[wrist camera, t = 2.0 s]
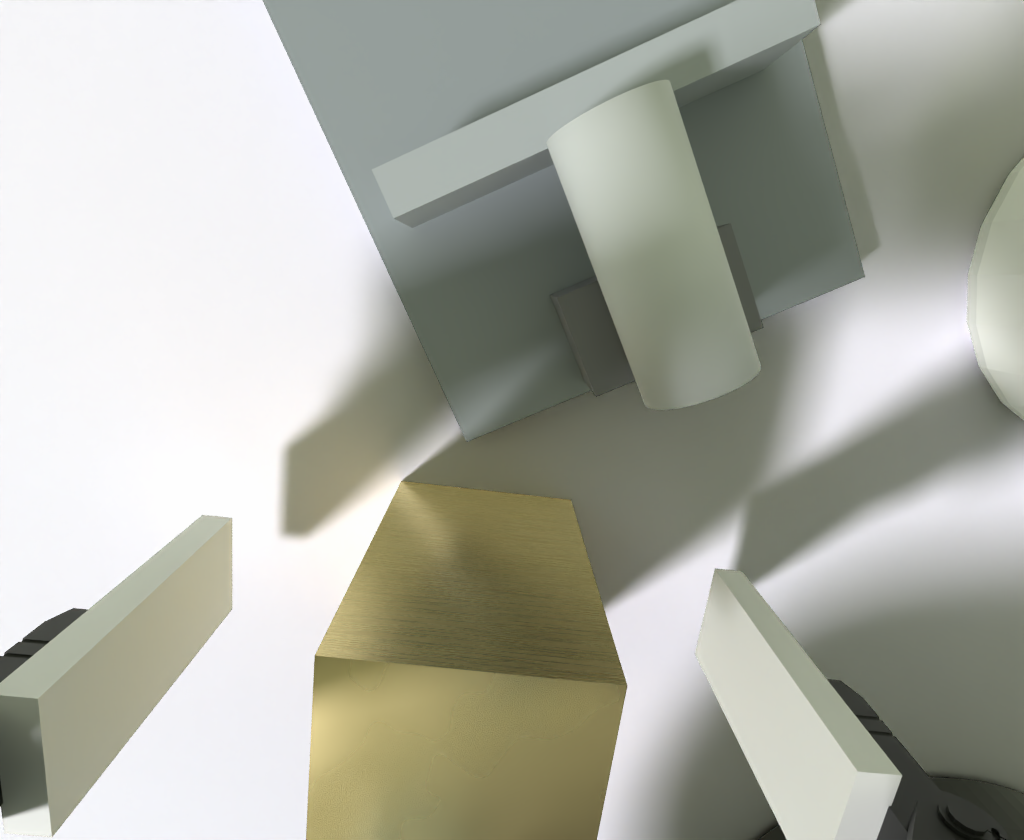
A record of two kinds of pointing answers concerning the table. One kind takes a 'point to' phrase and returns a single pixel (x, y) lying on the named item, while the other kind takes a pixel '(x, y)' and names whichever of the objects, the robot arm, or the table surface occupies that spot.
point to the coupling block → (466, 678)
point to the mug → (1000, 294)
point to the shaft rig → (581, 185)
